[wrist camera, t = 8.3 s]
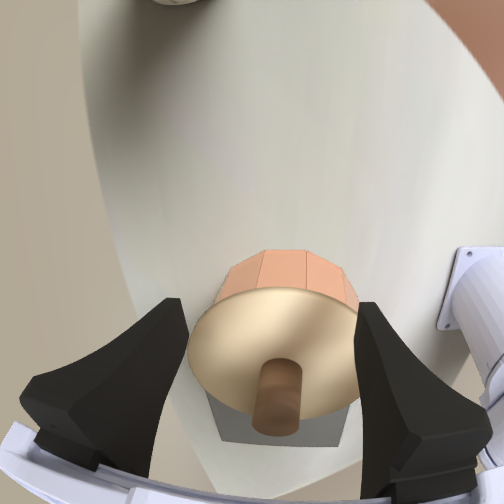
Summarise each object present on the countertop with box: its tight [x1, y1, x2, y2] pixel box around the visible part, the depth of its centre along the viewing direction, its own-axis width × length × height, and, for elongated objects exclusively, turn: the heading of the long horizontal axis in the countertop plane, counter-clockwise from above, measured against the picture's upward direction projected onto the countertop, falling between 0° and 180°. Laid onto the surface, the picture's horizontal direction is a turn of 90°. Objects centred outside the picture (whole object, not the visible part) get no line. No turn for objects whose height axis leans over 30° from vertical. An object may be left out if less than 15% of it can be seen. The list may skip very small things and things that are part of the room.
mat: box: [206, 391, 350, 447], centre depth 33 cm, size 15×15×1 cm
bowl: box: [213, 250, 359, 313], centre depth 23 cm, size 11×11×5 cm
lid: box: [188, 287, 360, 437], centre depth 19 cm, size 13×13×5 cm
